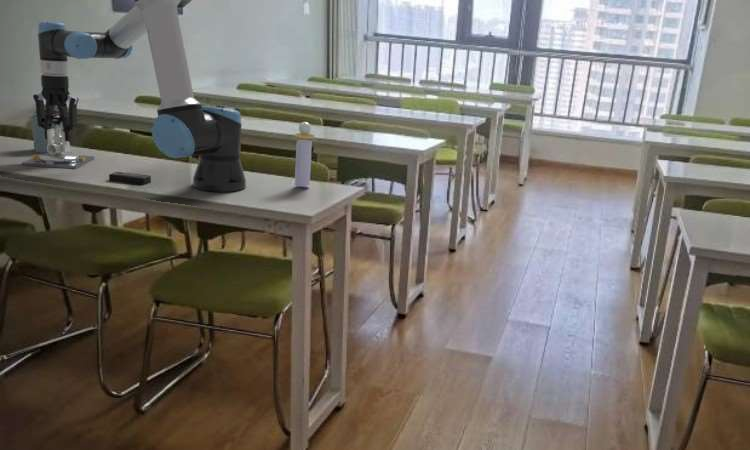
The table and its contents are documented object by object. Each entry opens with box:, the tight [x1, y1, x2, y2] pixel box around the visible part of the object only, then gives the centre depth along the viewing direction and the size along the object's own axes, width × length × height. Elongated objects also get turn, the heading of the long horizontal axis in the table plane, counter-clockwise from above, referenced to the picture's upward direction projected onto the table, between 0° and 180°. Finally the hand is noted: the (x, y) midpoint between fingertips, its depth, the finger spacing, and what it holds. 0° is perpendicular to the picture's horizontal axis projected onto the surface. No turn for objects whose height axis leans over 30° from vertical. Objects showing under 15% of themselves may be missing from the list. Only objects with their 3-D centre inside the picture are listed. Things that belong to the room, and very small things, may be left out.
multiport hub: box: [108, 171, 152, 186], centre depth 189 cm, size 4×11×2 cm, turn 79°
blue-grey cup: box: [29, 113, 64, 154], centre depth 220 cm, size 10×10×12 cm
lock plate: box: [21, 151, 95, 170], centre depth 206 cm, size 16×16×2 cm
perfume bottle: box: [294, 121, 315, 188], centre depth 196 cm, size 6×6×20 cm
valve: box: [45, 115, 71, 155], centre depth 204 cm, size 7×7×12 cm
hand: (58, 150), depth 205 cm, fingers closed on valve, 4 cm apart
